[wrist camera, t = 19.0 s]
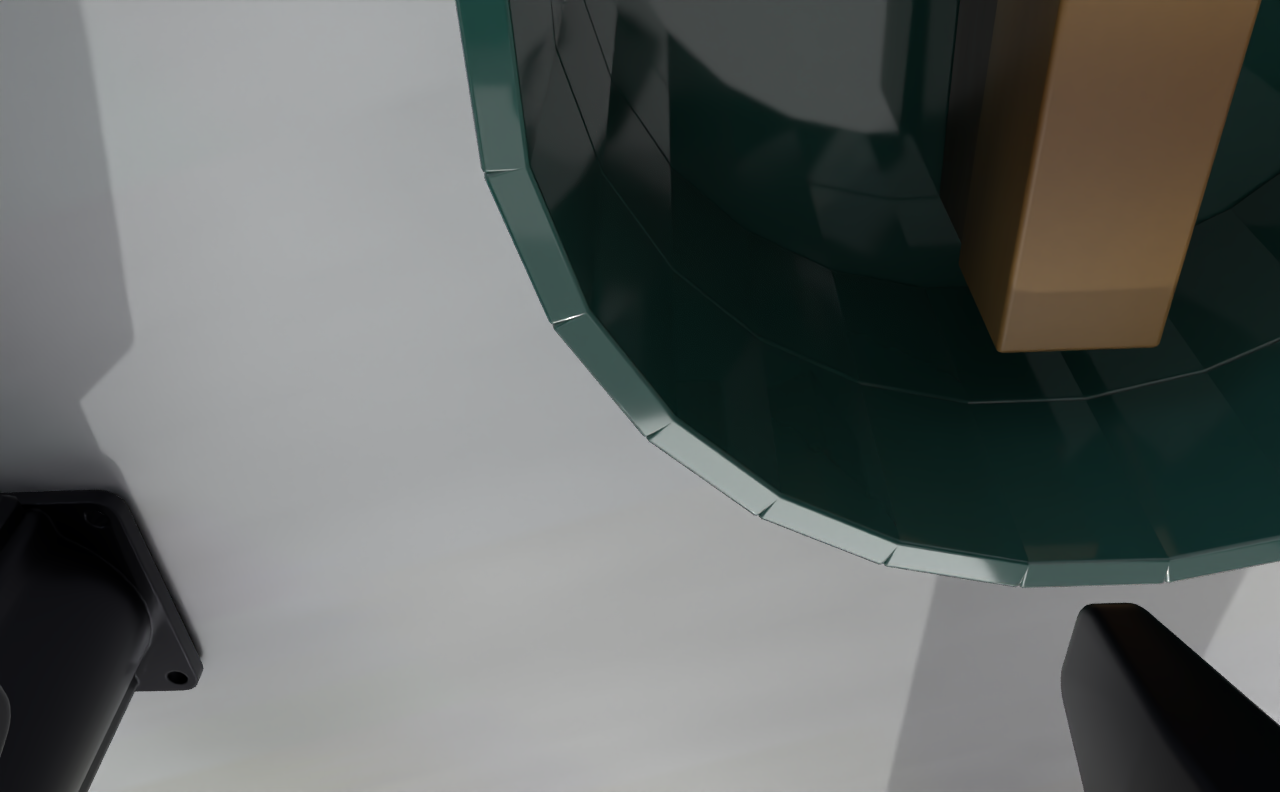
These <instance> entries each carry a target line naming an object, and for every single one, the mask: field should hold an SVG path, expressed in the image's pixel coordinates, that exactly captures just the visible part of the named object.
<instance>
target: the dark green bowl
mask: <svg viewBox="0 0 1280 792" xmlns="http://www.w3.org/2000/svg"><path fill="white" fill-rule="evenodd" d="M455 4H456V10H457V17H458V23H459V29H460V36H461V42H462V49H463V55H464V62H465V68H466V74H467V81H468V87H469V94H470V100H471V107H472V113H473V119H474V126H475V132H476V139H477V145H478V151H479V158H480V164H481V168H482V170H483V172H485V173H484V178H485V181H486V183H487V185H488V187H489V189H490V192H491V194H492V196H493V198H494V201H495V203H496V205H497V207H498V209H499V212H500V214H501V216H502V218H503V221H504V223H505V225H506V227H507V229H508V232H509V234H510V236H511V238H512V241H513V243H514V245H515V247H516V249H517V252H518V254H519V256H520V258H521V261H522V263H523V265H524V267H525V269H526V272H527V274H528V276H529V278H530V281H531V283H532V285H533V287H534V289H535V292H536V294H537V296H538V298H539V301H540V303H541V305H542V307H543V309H544V312H545V314H546V316H547V318H548V320H549V322H550V323H551V324H553V328H554V330H555V331H556V332H557V333H558V335H559V336H560V337H561V338H562V339H563V341H564V342H565V343H566V344H567V345H568V347H569V348H570V349H571V350H572V351H573V352H574V354H575V355H576V356H577V357H578V358H579V360H580V361H581V362H582V363H583V364H584V366H585V367H586V368H587V369H588V370H589V372H590V373H591V374H592V375H593V376H594V378H595V379H596V380H597V381H598V382H599V384H600V385H601V386H602V387H603V388H604V390H605V391H606V392H607V393H608V394H609V396H610V397H611V398H612V399H613V400H614V402H615V403H616V404H617V405H618V406H619V408H620V409H621V410H622V411H623V412H624V413H625V415H626V416H627V417H628V418H629V419H630V421H631V422H632V423H633V424H634V425H635V427H636V428H637V429H638V430H639V431H640V433H641V434H642V435H643V436H645V437H646V438H647V439H648V441H649V442H651V443H652V444H654V445H655V446H656V447H658V448H659V449H661V450H662V451H664V452H665V453H666V454H668V455H669V456H671V457H672V458H674V459H675V460H676V461H678V462H679V463H681V464H682V465H684V466H685V467H686V468H688V469H689V470H691V471H692V472H694V473H695V474H696V475H698V476H699V477H701V478H702V479H703V480H705V481H706V482H708V483H709V484H711V485H712V486H713V487H715V488H716V489H718V490H719V491H721V492H722V493H723V494H725V495H726V496H728V497H729V498H731V499H732V500H733V501H735V502H736V503H738V504H739V505H741V506H742V507H743V508H745V509H746V510H748V511H749V512H751V513H752V514H753V515H756V516H757V515H759V517H760V518H761V519H764V520H766V521H769V522H771V523H774V524H777V525H779V526H782V527H784V528H787V529H789V530H792V531H795V532H797V533H800V534H802V535H805V536H807V537H810V538H813V539H815V540H818V541H820V542H823V543H825V544H828V545H831V546H833V547H836V548H838V549H841V550H843V551H846V552H848V553H851V554H854V555H856V556H859V557H861V558H864V559H866V560H869V561H872V562H874V563H877V564H884V565H885V566H887V567H893V568H899V569H905V570H912V571H918V572H924V573H930V574H937V575H943V576H949V577H955V578H961V579H968V580H974V581H980V582H986V583H993V584H999V585H1005V586H1011V587H1017V586H1020V587H1022V588H1035V587H1071V586H1108V585H1144V584H1162V583H1164V582H1167V583H1171V582H1176V581H1181V580H1186V579H1192V578H1197V577H1202V576H1207V575H1212V574H1217V573H1222V572H1227V571H1233V570H1238V569H1243V568H1248V567H1253V566H1258V565H1263V564H1268V563H1274V562H1279V561H1280V0H1261V4H1260V7H1259V11H1258V14H1257V17H1256V21H1255V24H1254V27H1253V31H1252V34H1251V37H1250V41H1249V44H1248V48H1247V51H1246V54H1245V58H1244V61H1243V64H1242V68H1241V71H1240V74H1239V78H1238V81H1237V85H1236V88H1235V91H1234V95H1233V98H1232V101H1231V105H1230V108H1229V112H1228V115H1227V118H1226V122H1225V125H1224V128H1223V132H1222V135H1221V138H1220V142H1219V145H1218V149H1217V152H1216V155H1215V159H1214V162H1213V165H1212V169H1211V172H1210V175H1209V179H1208V182H1207V186H1206V189H1205V192H1204V196H1203V199H1202V202H1201V206H1200V209H1199V212H1198V216H1197V219H1196V223H1195V226H1194V229H1193V233H1192V236H1191V239H1190V243H1189V246H1188V249H1187V253H1186V256H1185V260H1184V263H1183V266H1182V270H1181V273H1180V276H1179V280H1178V283H1177V286H1176V290H1175V293H1174V297H1173V300H1172V303H1171V307H1170V310H1169V313H1168V317H1167V320H1166V324H1165V327H1164V330H1163V334H1162V337H1161V340H1160V344H1159V345H1158V346H1157V347H1154V348H1127V349H1099V350H1072V351H1044V352H1016V353H1001V352H998V351H997V350H996V348H995V346H994V343H993V341H992V339H991V337H990V334H989V332H988V330H987V328H986V325H985V323H984V321H983V319H982V316H981V314H980V312H979V310H978V307H977V305H976V303H975V301H974V298H973V296H972V294H971V292H970V289H969V287H968V285H967V283H966V280H965V278H964V276H963V274H962V271H961V269H960V267H959V257H960V250H961V242H960V240H959V237H958V235H957V233H956V231H955V229H954V227H953V225H952V222H951V220H950V218H949V216H948V214H947V212H946V209H945V207H944V205H943V203H942V201H941V199H940V196H939V194H940V185H941V175H942V166H943V156H944V147H945V138H946V128H947V119H948V109H949V100H950V90H951V81H952V71H953V62H954V52H955V43H956V33H957V24H958V14H959V5H960V0H455Z"/></svg>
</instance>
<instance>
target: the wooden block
mask: <svg viewBox="0 0 1280 792" xmlns="http://www.w3.org/2000/svg"><path fill="white" fill-rule="evenodd" d="M1260 4H1261V0H998V2H997V9H996V16H995V22H994V29H993V36H992V43H991V49H990V56H989V63H988V69H987V76H986V83H985V89H984V96H983V103H982V110H981V116H980V123H979V130H978V136H977V143H976V150H975V156H974V163H973V170H972V177H971V183H970V190H969V197H968V203H967V210H966V217H965V224H964V230H963V237H962V244H961V250H960V257H959V267H960V269H961V271H962V274H963V276H964V278H965V280H966V283H967V285H968V287H969V289H970V292H971V294H972V296H973V298H974V301H975V303H976V305H977V307H978V310H979V312H980V314H981V316H982V319H983V321H984V323H985V325H986V328H987V330H988V332H989V334H990V337H991V339H992V341H993V343H994V346H995V348H996V350H997V351H998V352H1001V353H1016V352H1044V351H1072V350H1099V349H1127V348H1154V347H1157V346H1158V345H1159V344H1160V340H1161V337H1162V334H1163V330H1164V327H1165V324H1166V320H1167V317H1168V313H1169V310H1170V307H1171V303H1172V300H1173V297H1174V293H1175V290H1176V286H1177V283H1178V280H1179V276H1180V273H1181V270H1182V266H1183V263H1184V260H1185V256H1186V253H1187V249H1188V246H1189V243H1190V239H1191V236H1192V233H1193V229H1194V226H1195V223H1196V219H1197V216H1198V212H1199V209H1200V206H1201V202H1202V199H1203V196H1204V192H1205V189H1206V186H1207V182H1208V179H1209V175H1210V172H1211V169H1212V165H1213V162H1214V159H1215V155H1216V152H1217V149H1218V145H1219V142H1220V138H1221V135H1222V132H1223V128H1224V125H1225V122H1226V118H1227V115H1228V112H1229V108H1230V105H1231V101H1232V98H1233V95H1234V91H1235V88H1236V85H1237V81H1238V78H1239V74H1240V71H1241V68H1242V64H1243V61H1244V58H1245V54H1246V51H1247V48H1248V44H1249V41H1250V37H1251V34H1252V31H1253V27H1254V24H1255V21H1256V17H1257V14H1258V11H1259V7H1260Z"/></svg>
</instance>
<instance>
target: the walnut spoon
mask: <svg viewBox="0 0 1280 792" xmlns="http://www.w3.org/2000/svg"><path fill="white" fill-rule="evenodd" d="M997 2H998V0H960V5H959V14H958V24H957V33H956V43H955V52H954V62H953V71H952V81H951V90H950V100H949V109H948V119H947V128H946V138H945V147H944V156H943V166H942V175H941V185H940V194H939V196H940V199H941V201H942V203H943V205H944V207H945V209H946V212H947V214H948V216H949V218H950V220H951V222H952V225H953V227H954V229H955V231H956V233H957V235H958V237H959V240H960V242H961V244H962V237H963V230H964V224H965V217H966V210H967V203H968V197H969V190H970V183H971V177H972V170H973V163H974V156H975V150H976V143H977V136H978V130H979V123H980V116H981V110H982V103H983V96H984V89H985V83H986V76H987V69H988V63H989V56H990V49H991V43H992V36H993V29H994V22H995V16H996V9H997Z"/></svg>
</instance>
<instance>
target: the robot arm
mask: <svg viewBox="0 0 1280 792" xmlns="http://www.w3.org/2000/svg"><path fill="white" fill-rule="evenodd" d="M99 511H100V512H102V513H104V514H102V513H100V512H99ZM202 671H203V664H202V662H201V660H200V658H199V656H198V654H197V652H196V649H195V647H194V645H193V643H192V641H191V639H190V637H189V635H188V633H187V630H186V628H185V626H184V624H183V622H182V620H181V618H180V616H179V614H178V611H177V609H176V607H175V605H174V603H173V601H172V599H171V597H170V595H169V592H168V590H167V588H166V586H165V584H164V582H163V580H162V578H161V576H160V573H159V571H158V569H157V567H156V565H155V563H154V561H153V559H152V557H151V554H150V552H149V550H148V548H147V546H146V544H145V542H144V540H143V538H142V536H141V533H140V531H139V529H138V527H137V525H136V523H135V521H134V519H133V517H132V514H131V512H130V510H129V508H128V506H127V505H126V503H125V502H124V501H123V499H121V498H120V497H119V496H117V495H116V494H114V493H111V492H108V491H104V490H74V491H43V492H12V493H0V792H88V790H89V788H90V786H91V783H92V781H93V779H94V777H95V775H96V773H97V771H98V768H99V766H100V764H101V762H102V760H103V758H104V756H105V754H106V751H107V749H108V747H109V745H110V743H111V741H112V739H113V737H114V734H115V732H116V730H117V728H118V726H119V724H120V722H121V719H122V717H123V715H124V713H125V711H126V709H127V707H128V705H129V702H130V700H131V698H132V696H133V694H134V692H135V691H176V690H189V689H192V688H194V687H196V685H197V683H198V681H199V679H200V676H201V674H202ZM1061 692H1062V698H1063V703H1064V707H1065V712H1066V716H1067V720H1068V724H1069V729H1070V733H1071V737H1072V741H1073V746H1074V750H1075V754H1076V758H1077V763H1078V767H1079V771H1080V775H1081V780H1082V784H1083V788H1084V792H1280V725H1279V724H1277V723H1276V722H1275V721H1274V720H1273V719H1272V718H1270V717H1269V716H1268V715H1267V714H1266V713H1265V712H1264V711H1262V710H1261V709H1260V708H1259V707H1258V706H1257V705H1255V704H1254V703H1253V702H1252V701H1251V700H1250V699H1249V698H1247V697H1246V696H1245V695H1244V694H1243V693H1242V692H1240V691H1239V690H1238V689H1237V688H1236V687H1235V686H1233V685H1232V684H1231V683H1230V682H1229V681H1228V680H1227V679H1225V678H1224V677H1223V676H1222V675H1221V674H1220V673H1218V672H1217V671H1216V670H1215V669H1214V668H1213V667H1212V666H1210V665H1209V664H1208V663H1207V662H1206V661H1205V660H1203V659H1202V658H1201V657H1200V656H1199V655H1198V654H1196V653H1195V652H1194V651H1193V650H1192V649H1191V648H1190V647H1188V646H1187V645H1186V644H1185V643H1184V642H1183V641H1181V640H1180V639H1179V638H1178V637H1177V636H1176V635H1174V634H1173V633H1172V632H1171V631H1170V630H1169V629H1168V628H1166V627H1165V626H1164V625H1163V624H1162V623H1161V622H1159V621H1158V620H1157V619H1156V618H1155V617H1154V616H1153V615H1151V614H1150V613H1149V612H1148V611H1147V610H1145V609H1144V608H1142V607H1140V606H1138V605H1136V604H1133V603H1102V604H1089V605H1086V606H1085V607H1084V608H1083V609H1082V610H1081V611H1080V612H1079V615H1078V617H1077V620H1076V623H1075V627H1074V630H1073V633H1072V636H1071V640H1070V643H1069V646H1068V650H1067V653H1066V656H1065V660H1064V663H1063V667H1062V671H1061Z"/></svg>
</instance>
